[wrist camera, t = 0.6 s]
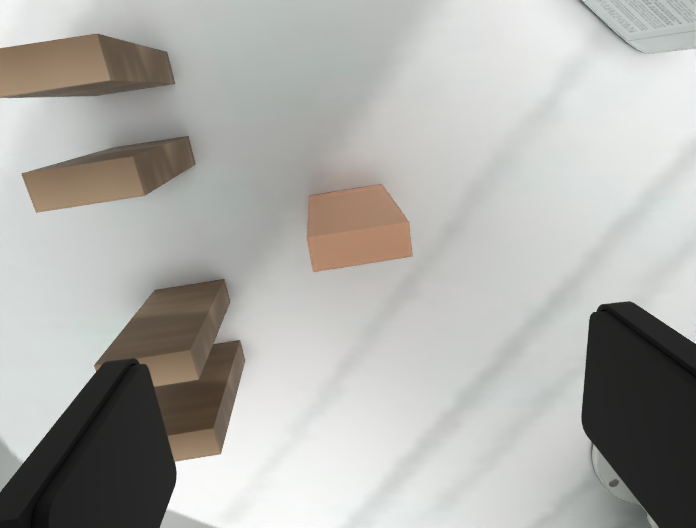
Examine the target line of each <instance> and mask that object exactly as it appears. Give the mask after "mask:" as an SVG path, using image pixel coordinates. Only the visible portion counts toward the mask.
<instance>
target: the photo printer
mask: <svg viewBox="0 0 696 528" xmlns="http://www.w3.org/2000/svg"><path fill="white" fill-rule="evenodd" d="M582 1H583V2H584V3H585V4H586V5H587V6H588V7H589V8H590V9H591V10H592V11H593V12H594V13H595V14H596V15H597V16H599V17H600V18H601V19H602V20H603V21H604V22H605V23H606V24H607V25H608V26H609V27H610V28H612V30H613V31H614V32H616V33H617V34H618V35H619V36H620V37H622V38H623V39H624V40H625V41H626V42H628V43H629V44H630V45H631V46H633V47H634V48H636V49H638V50H639V51H641V52H644V53H659V52H668V51H677V50H686V49H695V48H696V0H582Z"/></svg>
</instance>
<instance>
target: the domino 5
mask: <svg viewBox="0 0 696 528" xmlns="http://www.w3.org/2000/svg"><path fill="white" fill-rule="evenodd" d="M307 241H308V246H309V252H310V257H311V263H312V268H313V272H317V271H323V270H329V269H336V268H342V267H348V266H354V265H361V264H367V263H373V262H380V261H386V260H392V259H399V258H405V257H411V256H412V247H411V237H410V228H409V221H408V220H407V218H406V217H405V216H404V214H403V213H402V211H401V210H400V209H399V207H398V206H397V204H396V203H395V202H394V200H393V199H392V197H391V196H390V195H389V193H388V192H387V190H386V189H385V188H384V186H383V185H382V184H380V185H374V186H367V187H361V188H354V189H348V190H342V191H335V192H329V193H322V194H316V195H310V196H309V211H308V228H307Z"/></svg>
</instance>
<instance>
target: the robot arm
mask: <svg viewBox="0 0 696 528" xmlns="http://www.w3.org/2000/svg"><path fill="white" fill-rule="evenodd" d="M582 425H583V429H584V431H585V433H586V435H587V436H588V438H589V439H590V440H591V442H592V443H593V450H592V460H593V466H594V469H595V472H596V474H597V476H598V477H599V479H600V480H601V482H602V483H603V484H604V486H605V487H606V488H607V489H608V490H609V491H610V492H611V493H612V494H613V495H615V496H616V497H618V498H619V499H622V500H624V501H627V502H629V503H634V504H639V505H641V506H642V508H643V509H644V510H645V511H646V513H647V514H648V515H647V519H648V521H649V523H650V524H651V528H696V344H695V343H693V342H692V341H690V340H689V339H687V338H686V337H684V336H683V335H681V334H680V333H678V332H677V331H675V330H674V329H672V328H671V327H669V326H668V325H666V324H665V323H663V322H662V321H660V320H659V319H657V318H656V317H654V316H653V315H651V314H650V313H648V312H647V311H645V310H644V309H642V308H641V307H639V306H638V305H636V304H635V303H633V302H630V301H628V302H619V303H610V304H602V305H600V306H599V307H598V309H597V312H593V313H592V314H591V316H590V320H589V331H588V344H587V356H586V368H585V380H584V392H583V405H582ZM175 483H176V466H175V462H174V458H173V455H172V451H171V447H170V444H169V440H168V436H167V433H166V429H165V425H164V422H163V418H162V415H161V411H160V407H159V404H158V400H157V396H156V393H155V389H154V385H153V382H152V378H151V374H150V371H149V368H148V366H147V365H146V364H140V363H139V362H138V360H137V359H135V358H131V359H122V360H113V361H106V362H104V363H103V364H102V365H101V367H100V368H99V369H98V370H97V372H96V373H95V374H94V375H93V377H92V378H91V379H90V380H89V382H88V383H87V384H86V385H85V387H84V388H83V389H82V390H81V392H80V393H79V394H78V395H77V397H76V398H75V399H74V400H73V402H72V403H71V404H70V405H69V407H68V408H67V409H66V410H65V412H64V413H63V414H62V415H61V417H60V418H59V419H58V420H57V422H56V423H55V424H54V425H53V427H52V428H51V429H50V431H49V432H48V433H47V434H46V436H45V437H44V438H43V439H42V441H41V442H40V443H39V444H38V446H37V447H36V448H35V449H34V451H33V452H32V453H31V454H30V456H29V457H28V458H27V459H26V461H25V462H24V463H23V464H22V466H21V467H20V468H19V469H18V471H17V472H16V473H15V474H14V476H13V477H12V478H11V479H10V481H9V482H8V483H7V485H6V486H5V487H4V488H3V489H2V491H1V492H0V528H160V525H161V522H162V519H163V517H164V514H165V511H166V509H167V506H168V503H169V501H170V498H171V495H172V492H173V490H174V487H175Z"/></svg>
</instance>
